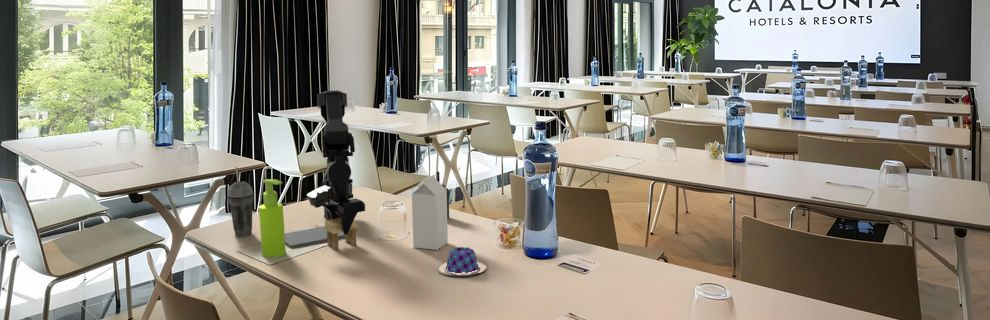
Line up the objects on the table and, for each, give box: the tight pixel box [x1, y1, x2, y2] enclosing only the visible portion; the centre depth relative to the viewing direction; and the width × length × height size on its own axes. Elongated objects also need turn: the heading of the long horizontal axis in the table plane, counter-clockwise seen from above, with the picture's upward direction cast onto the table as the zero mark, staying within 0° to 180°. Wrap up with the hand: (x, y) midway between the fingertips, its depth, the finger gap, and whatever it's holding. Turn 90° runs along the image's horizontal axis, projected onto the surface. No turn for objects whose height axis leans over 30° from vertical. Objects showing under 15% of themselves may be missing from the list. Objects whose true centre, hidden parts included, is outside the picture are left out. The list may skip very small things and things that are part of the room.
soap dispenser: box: [258, 178, 287, 259], centre depth 181 cm, size 6×7×20 cm
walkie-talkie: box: [436, 171, 450, 219], centre depth 214 cm, size 5×3×15 cm
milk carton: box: [411, 174, 449, 251], centre depth 187 cm, size 7×7×19 cm
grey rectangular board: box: [284, 225, 345, 249], centre depth 197 cm, size 16×12×1 cm
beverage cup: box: [226, 166, 255, 238], centre depth 198 cm, size 7×7×20 cm
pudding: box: [437, 246, 488, 276], centre depth 170 cm, size 12×12×5 cm
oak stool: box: [324, 218, 358, 250], centre depth 189 cm, size 7×5×7 cm
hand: (341, 231), depth 189 cm, fingers open, 5 cm apart
